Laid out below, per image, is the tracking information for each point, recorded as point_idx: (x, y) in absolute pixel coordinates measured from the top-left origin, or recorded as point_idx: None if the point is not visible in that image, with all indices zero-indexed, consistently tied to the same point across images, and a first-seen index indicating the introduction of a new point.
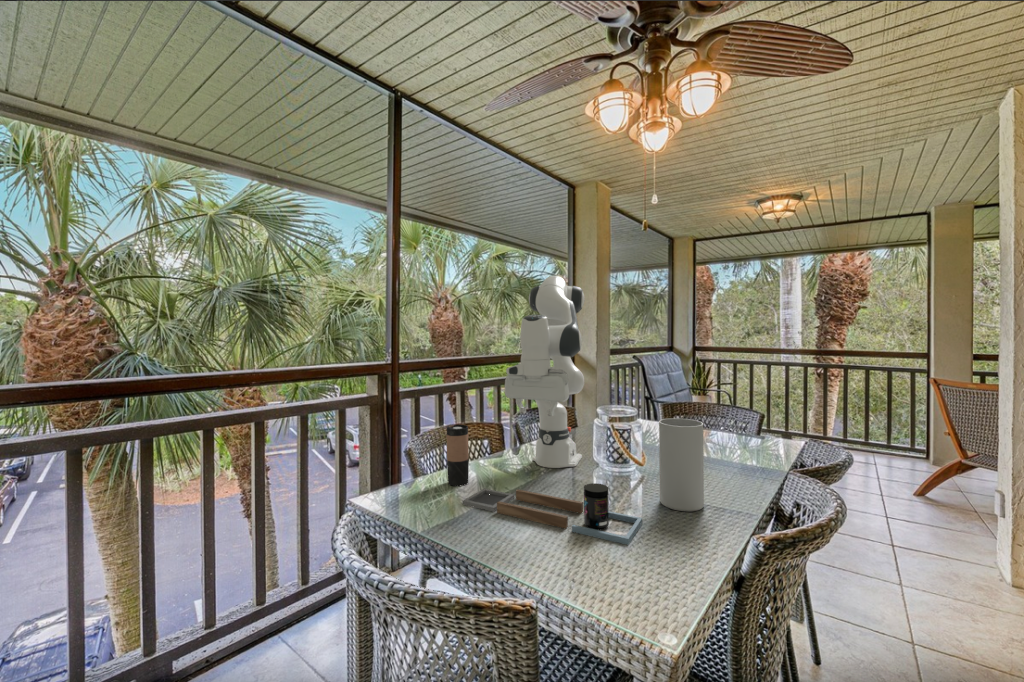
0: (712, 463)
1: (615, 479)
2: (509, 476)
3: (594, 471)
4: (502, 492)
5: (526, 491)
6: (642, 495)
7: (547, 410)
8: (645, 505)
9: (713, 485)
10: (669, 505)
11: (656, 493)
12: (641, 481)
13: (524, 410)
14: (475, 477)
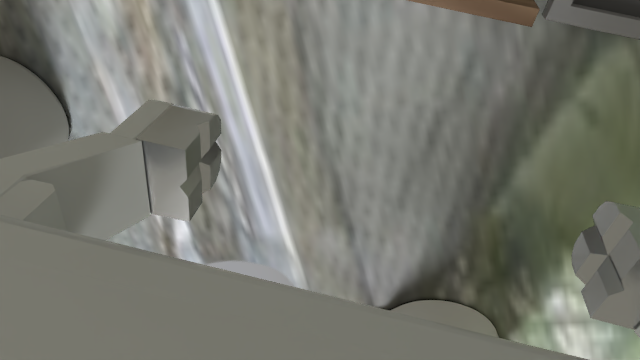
0: None
1: (231, 242)
2: (587, 224)
3: (303, 288)
4: (608, 28)
5: (485, 11)
6: None
7: (185, 148)
8: (89, 74)
9: None
10: (15, 66)
11: None
12: (165, 237)
13: (605, 255)
14: None
